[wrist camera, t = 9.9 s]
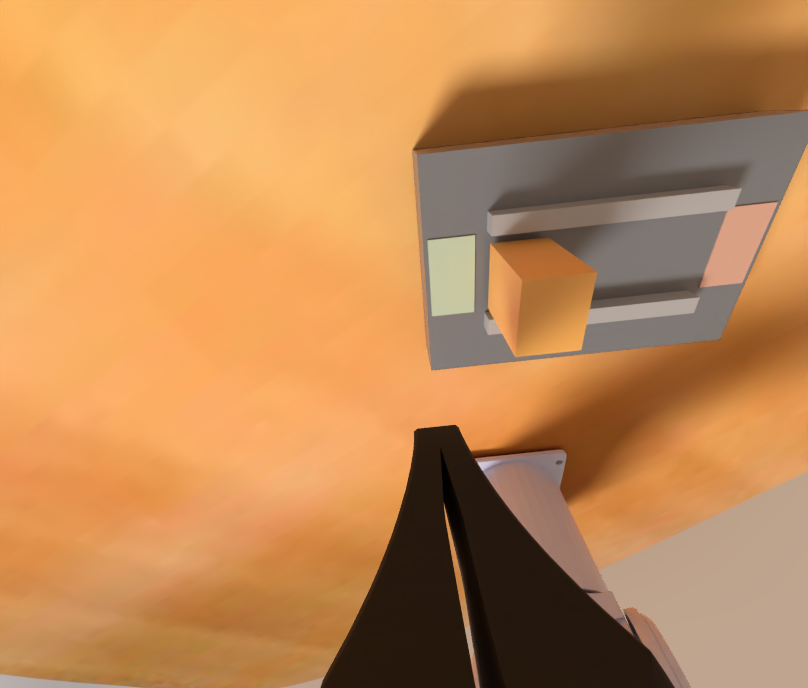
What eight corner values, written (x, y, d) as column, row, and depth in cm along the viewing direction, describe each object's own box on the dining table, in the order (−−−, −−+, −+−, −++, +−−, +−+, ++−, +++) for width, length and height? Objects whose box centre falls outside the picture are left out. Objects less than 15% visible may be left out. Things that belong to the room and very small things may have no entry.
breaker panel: (684, 317, 21) (732, 348, 18) (426, 344, 21) (433, 379, 18) (761, 111, 15) (846, 109, 12) (412, 149, 15) (418, 156, 13)
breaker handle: (539, 302, 16) (581, 350, 13) (487, 308, 16) (515, 357, 13) (548, 236, 15) (597, 272, 11) (490, 243, 15) (522, 280, 11)
